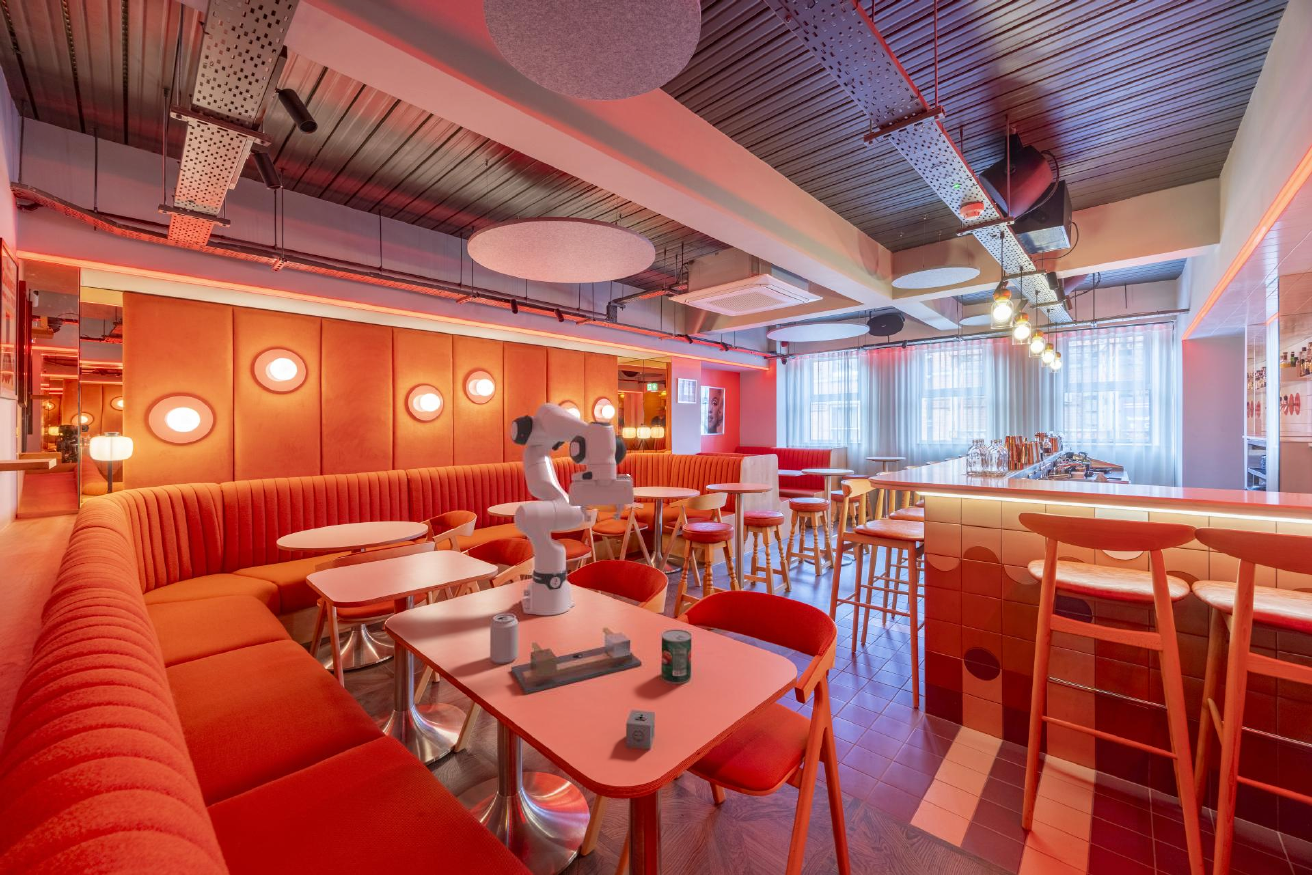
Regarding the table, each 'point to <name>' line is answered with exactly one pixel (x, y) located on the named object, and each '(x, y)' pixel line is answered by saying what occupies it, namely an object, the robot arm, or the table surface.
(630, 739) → the dice cube
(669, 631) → the canned tomato
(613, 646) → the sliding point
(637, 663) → the bolt plate
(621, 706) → the table surface
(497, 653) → the can
